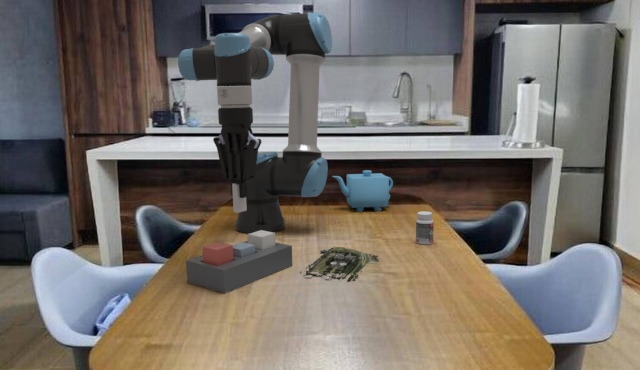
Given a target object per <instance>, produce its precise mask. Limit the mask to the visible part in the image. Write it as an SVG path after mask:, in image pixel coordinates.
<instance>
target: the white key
mask: <svg viewBox="0 0 640 370" xmlns="http://www.w3.org/2000/svg"><path fill="white" fill-rule="evenodd" d="M247 241H248V244H252V245H255V249H259V250H265V249H268V248H271V247H274V246H276V243H277V242H276V232H268V231H263V230H260V231H257V232H254V233H247Z"/></svg>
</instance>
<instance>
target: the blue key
mask: <svg viewBox="0 0 640 370" xmlns="http://www.w3.org/2000/svg"><path fill="white" fill-rule="evenodd" d="M243 242H244V241H243ZM243 242H242V241H240V242H237V243H234V244H232V245H233V256H236V257H240V258H242V257H245V256H248V255H251V254H254V253H255V245H252V244H247V243H243Z"/></svg>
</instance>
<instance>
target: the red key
mask: <svg viewBox="0 0 640 370" xmlns="http://www.w3.org/2000/svg"><path fill="white" fill-rule="evenodd" d="M202 255H203V262H204V263H208V264H211V265H215V266H219V265H222V264H225V263H228V262H231V261H233V244H229V243H225V242H220V241H217V242H213V243H211V244H207V245H203V246H202Z"/></svg>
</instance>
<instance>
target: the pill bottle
mask: <svg viewBox="0 0 640 370" xmlns="http://www.w3.org/2000/svg"><path fill="white" fill-rule="evenodd" d="M416 217H417V219H416V220H415V243H416V244H418V245H426V246H427V245H432V244H433V243H434V230H435V229H434V226H435V225H434V223H435V221H434V220H433V213H432V212H431V211H418V212H417V215H416Z"/></svg>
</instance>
